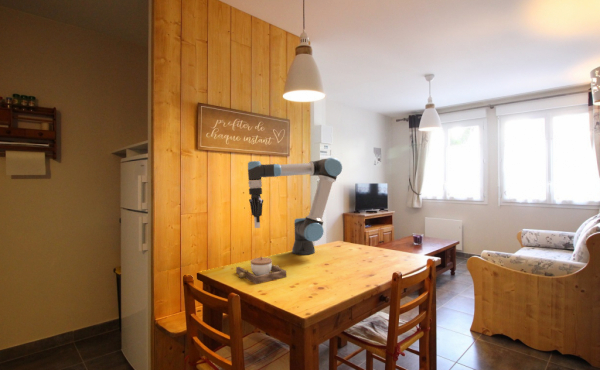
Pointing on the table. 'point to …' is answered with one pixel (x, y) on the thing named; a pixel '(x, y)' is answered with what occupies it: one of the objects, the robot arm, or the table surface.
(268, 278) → the rail
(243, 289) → the table surface
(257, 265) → the lidded jar
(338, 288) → the table surface
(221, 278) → the table surface
